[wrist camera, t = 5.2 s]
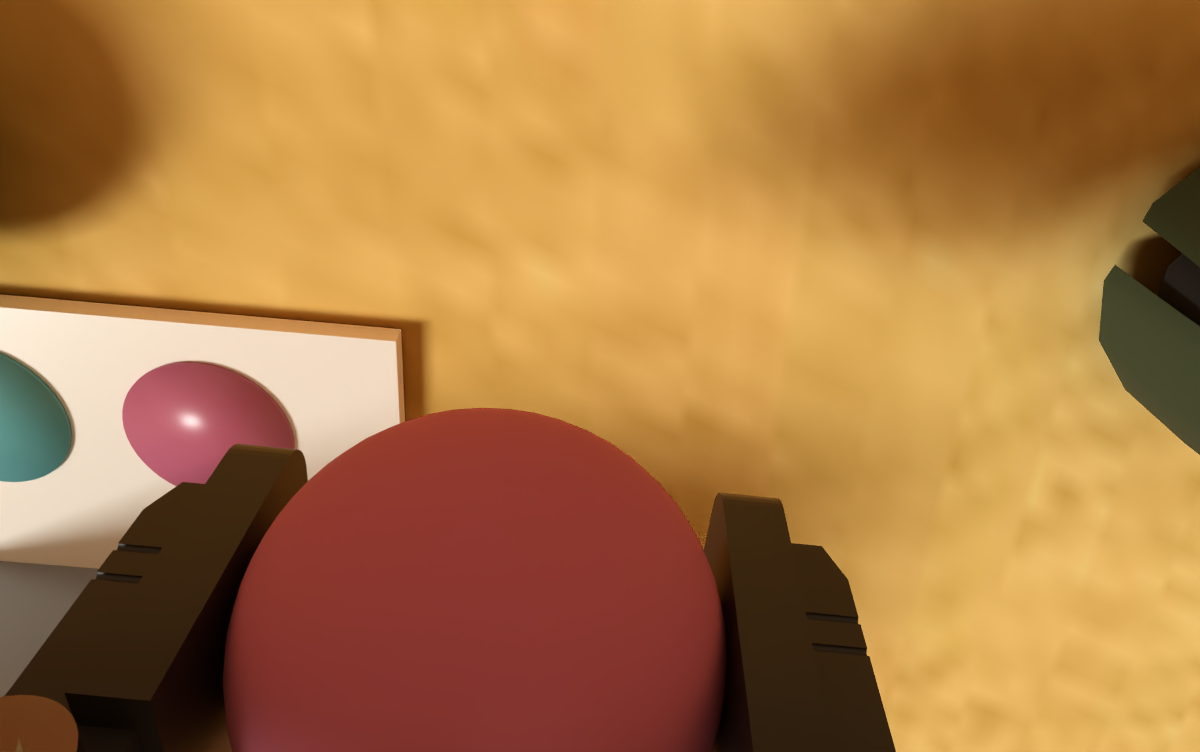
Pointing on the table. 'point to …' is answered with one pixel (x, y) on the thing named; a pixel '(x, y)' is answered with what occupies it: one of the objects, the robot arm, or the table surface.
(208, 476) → the tube card
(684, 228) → the table surface
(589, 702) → the pink ball
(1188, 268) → the character mug
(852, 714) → the robot arm
